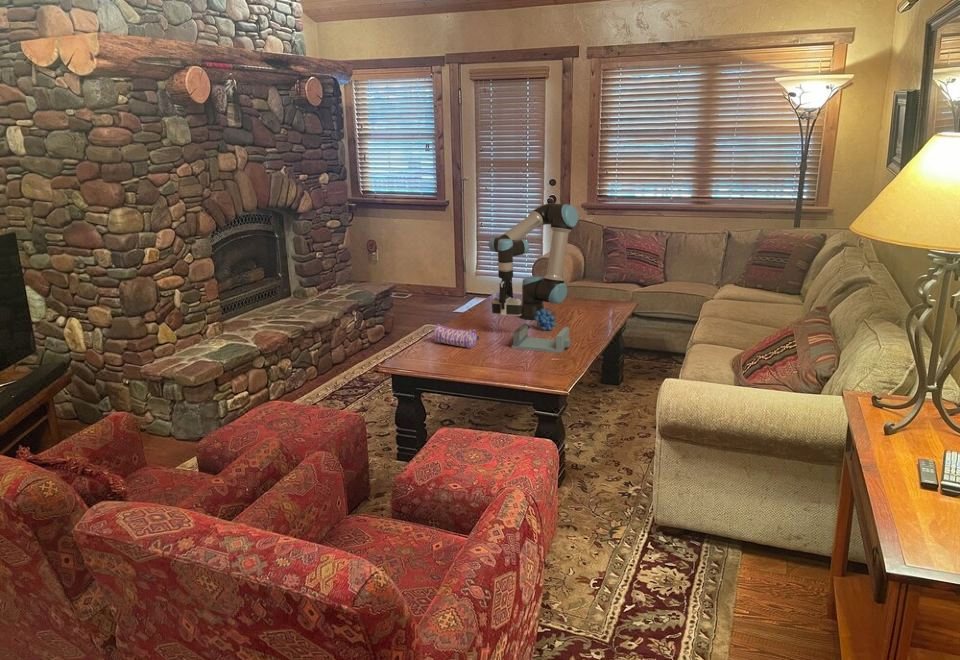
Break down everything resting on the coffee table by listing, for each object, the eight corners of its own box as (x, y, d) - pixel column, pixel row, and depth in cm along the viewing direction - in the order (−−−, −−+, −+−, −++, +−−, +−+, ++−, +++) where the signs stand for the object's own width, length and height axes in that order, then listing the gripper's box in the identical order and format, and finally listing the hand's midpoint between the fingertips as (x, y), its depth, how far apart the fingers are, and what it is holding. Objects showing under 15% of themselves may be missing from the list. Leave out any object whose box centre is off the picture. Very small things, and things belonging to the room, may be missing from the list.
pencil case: (479, 345, 352) (479, 327, 350) (471, 350, 345) (470, 332, 342) (441, 339, 362) (440, 322, 359) (431, 344, 354) (431, 326, 351)
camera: (525, 311, 365) (525, 293, 362) (520, 316, 358) (520, 297, 355) (496, 309, 371) (495, 291, 368) (490, 314, 363) (490, 295, 360)
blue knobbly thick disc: (531, 331, 374) (532, 309, 370) (535, 328, 380) (535, 306, 376) (553, 333, 370) (553, 311, 366) (556, 330, 376) (557, 308, 372)
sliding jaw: (526, 333, 365) (526, 320, 364) (531, 333, 364) (531, 320, 363) (513, 345, 346) (513, 332, 344) (519, 345, 345) (519, 332, 343)
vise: (521, 339, 361) (521, 323, 358) (572, 344, 352) (573, 327, 349) (511, 348, 346) (511, 331, 344) (565, 353, 337) (565, 336, 335)
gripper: (505, 265, 369) (505, 306, 375) (491, 274, 349) (492, 317, 356) (518, 265, 366) (519, 307, 373) (506, 274, 347) (506, 318, 354)
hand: (506, 312), depth 364 cm, fingers closed on camera, 9 cm apart
